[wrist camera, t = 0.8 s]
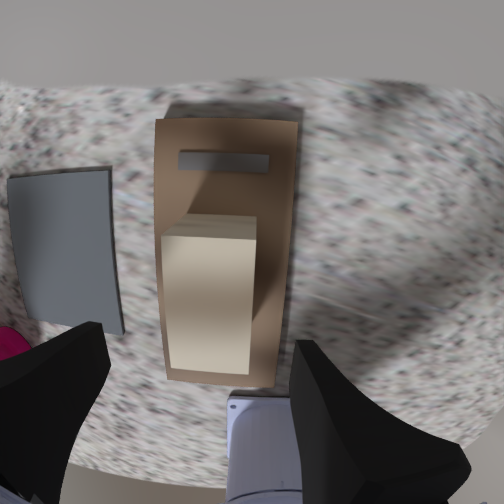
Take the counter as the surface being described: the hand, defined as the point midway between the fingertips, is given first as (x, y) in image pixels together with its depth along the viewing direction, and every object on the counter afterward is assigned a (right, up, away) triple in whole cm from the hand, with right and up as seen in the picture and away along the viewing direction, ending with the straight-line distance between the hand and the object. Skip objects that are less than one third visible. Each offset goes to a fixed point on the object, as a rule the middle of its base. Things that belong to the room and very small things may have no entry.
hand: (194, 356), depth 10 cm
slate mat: (-12, +4, +9) cm, 16 cm away
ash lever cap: (0, +3, +8) cm, 8 cm away
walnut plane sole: (0, +3, +9) cm, 10 cm away
